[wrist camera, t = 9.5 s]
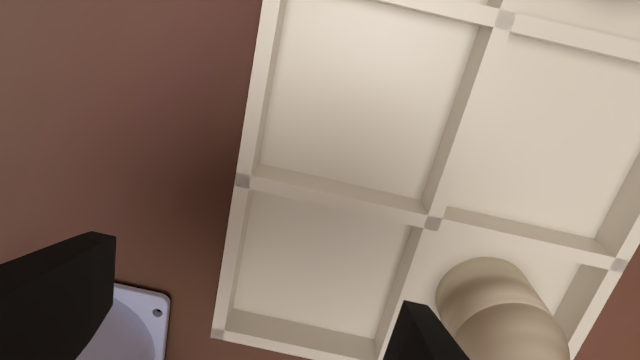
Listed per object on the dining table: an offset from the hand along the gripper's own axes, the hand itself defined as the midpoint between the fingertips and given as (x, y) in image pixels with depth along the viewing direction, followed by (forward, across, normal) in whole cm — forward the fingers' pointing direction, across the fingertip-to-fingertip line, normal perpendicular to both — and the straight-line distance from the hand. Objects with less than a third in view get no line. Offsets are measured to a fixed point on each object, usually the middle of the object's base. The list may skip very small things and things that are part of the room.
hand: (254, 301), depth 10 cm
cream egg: (+9, -10, +4) cm, 14 cm away
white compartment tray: (+9, -6, -4) cm, 12 cm away
